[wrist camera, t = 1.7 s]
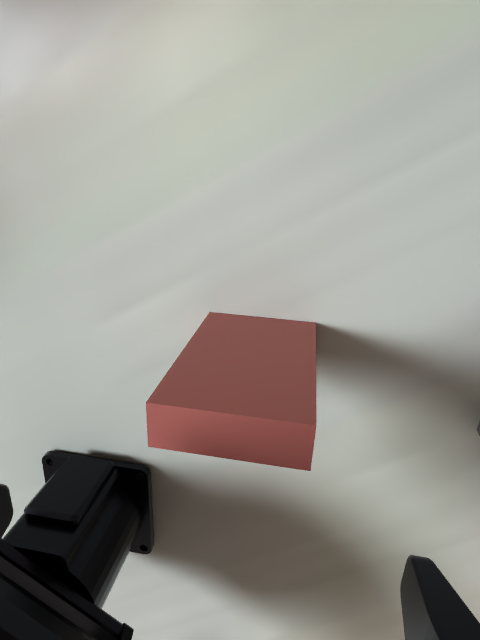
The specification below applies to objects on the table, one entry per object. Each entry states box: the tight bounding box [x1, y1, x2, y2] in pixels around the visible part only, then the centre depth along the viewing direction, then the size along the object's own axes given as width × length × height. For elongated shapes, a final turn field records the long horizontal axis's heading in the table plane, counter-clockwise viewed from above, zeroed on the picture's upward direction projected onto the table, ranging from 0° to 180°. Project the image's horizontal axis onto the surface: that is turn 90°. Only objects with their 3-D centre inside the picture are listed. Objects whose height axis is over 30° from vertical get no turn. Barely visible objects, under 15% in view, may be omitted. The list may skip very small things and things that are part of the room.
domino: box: [146, 312, 316, 471], centre depth 16 cm, size 2×5×8 cm, turn 87°
